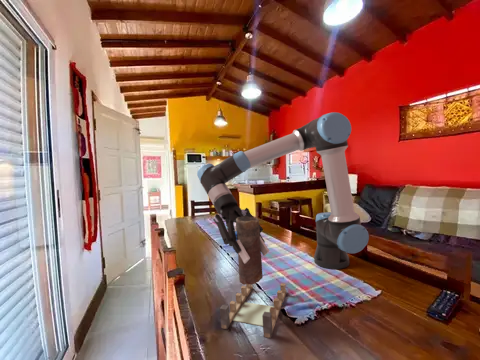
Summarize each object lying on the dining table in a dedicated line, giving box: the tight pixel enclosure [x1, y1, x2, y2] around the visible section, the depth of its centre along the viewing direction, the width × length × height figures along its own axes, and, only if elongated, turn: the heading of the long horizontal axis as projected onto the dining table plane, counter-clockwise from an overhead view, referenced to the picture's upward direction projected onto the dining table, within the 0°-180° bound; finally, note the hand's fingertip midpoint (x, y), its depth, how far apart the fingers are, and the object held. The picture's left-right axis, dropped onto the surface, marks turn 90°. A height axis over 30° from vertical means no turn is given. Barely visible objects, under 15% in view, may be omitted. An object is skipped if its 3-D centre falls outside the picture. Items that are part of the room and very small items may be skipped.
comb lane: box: [219, 282, 288, 339], centre depth 80 cm, size 15×24×6 cm, turn 158°
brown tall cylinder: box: [235, 216, 264, 286], centre depth 76 cm, size 8×7×20 cm
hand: (257, 257), depth 73 cm, fingers closed on brown tall cylinder, 7 cm apart
